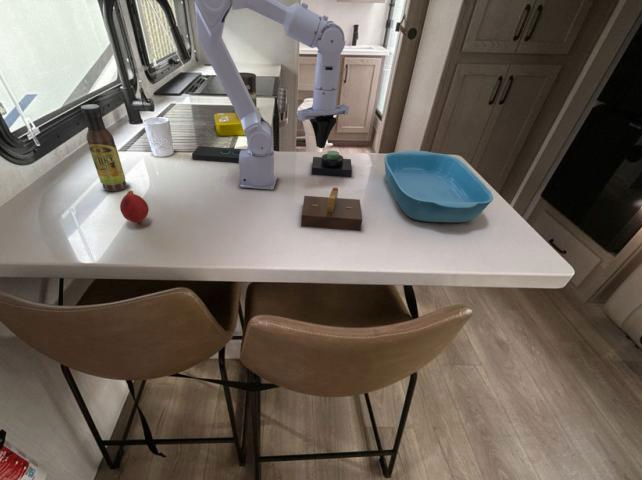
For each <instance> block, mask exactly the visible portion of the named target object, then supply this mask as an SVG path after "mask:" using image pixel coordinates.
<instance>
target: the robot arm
mask: <svg viewBox="0 0 642 480" xmlns="http://www.w3.org/2000/svg"><path fill="white" fill-rule="evenodd" d="M193 2H194V7H195V18H196V19H195V20H196V35H197V36H196V37H197V40H198V43H199V45H200V46H201V49H202V50H203V52H204V54H205V56H206V58H207V60H208V62H209V63H210V66H211V67H212V69H213V70H214V73H215V75H216V77H217V79H218V81H219V82H220V84H221V86H222V88H223V90H224V92H225V94H226V95H227V97H228V99H229V102H230V103H231V105H232V106H233V109H234V112H235V111H236V112H237V114H238V116H239V118H240V120H241V123H242V127H243V130H244V133H245V135H244V136H245V137H246V144H247V150H241V151H240V155H239V163H238V170H239V183H240V185H239V188H243V189H257V190H274V189H275V186H276V184H277V183H276V182H277V179H278V177H277V176H275V148H274V147H273V140H272V137H273V128H272V125H271V124H270V123H269V122H268V121H267V120H265V119H264V117H263V115H262V113H261V112H260V111H259V110H258V108H256V106H255V104H254V102H253V100H252V98H251V96H250V94H249V92H248V90H247V88H246V86H245V84H244V82H243V80H242V78H241V76H240V74H239V73H240V72H239V70H238V68H237V66H236V64H235V62H234V59H233V57H232V55H231V54H230V51H229V50H228V47H227V46H226V43H225V41H224V39H223V33H224V27H225V23H226V18H227V16H228V14H229V13H230V11H231V10H232V11H235V10H241V9H242V10H243V9H248V10H251V11H253V12H255V13H257V14H259V15H261V16H263V17H265V18H268V19H269V20H271V21H274V22H276V23H278V24H280V25H282V27H283V29H284V32H285V35H286V36H287V37H289V38H292V39H293V40H295V41H297V42H299V43H301V44H303V45H305V46H307V47H309V48H310V49H315V48H316V49H317V51H316V63H315V66H314V67H315V68H314V82H313V96H312V105H311V106H310V107H308V108H303V109H300V110H297V114H296V115H297V117H296V119H297V121H300V122H305V121H307V120H309V122H310V124H311V127H312V130H313V133H314V138H315V144H316V147H317V148H319V149H324V148H325V147H326V145H327V141H328V139H329V136H330V133H331V132H332V130H333V128H334V126H335V125H336V124H337V118H336V117H335V116H340V115H344V116H346V115H349V109H350V105H347V104H337V97H338V89H339V80H340V71H341V58H342V52H343V51H344V49H345V47H346V41H345V33H344V30H343V29H342V27H341V26H340V25H338V24H336V22H335V23H334V21H333V20H329V16H327V15H325V14H323V15H320V14H318V13H316V12H315V11H312V10H310V9H309V8H308V7H309V5H308V4H307V3H306V2H301V4H300V3H298V2H295V3H293V4H291V5H289V6H287V5H284V4H283V3H282V2H279V1H278V0H193Z"/></svg>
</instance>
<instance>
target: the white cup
mask: <svg viewBox="0 0 642 480" xmlns="http://www.w3.org/2000/svg"><path fill="white" fill-rule="evenodd" d="M142 124H143V127H144V130H145V134H146V137H147V141H148V144H149V146H150V149H151V153H152V155H153V156H155V157H158V158H159V157H162V158H164V157H169V156H172V155H173V154H174V152H175V151H174V143H173V135H172V129H171V123H170V119H169V118H168V117H164V116H152V117H151V116H150V117H147V118H144V119H143V120H142Z"/></svg>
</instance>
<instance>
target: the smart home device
mask: <svg viewBox="0 0 642 480" xmlns="http://www.w3.org/2000/svg"><path fill="white" fill-rule="evenodd" d="M241 150H247V149H246V148H233V147H220V146H219V147H218V146H205V145H203V146H202V145H199V146H197V148H196V149H195V150H194V151H193V152H192V153H191V157H192V160H196V161H208V162H209V161H210V162H224V163H236V164H239V155H240V151H241Z"/></svg>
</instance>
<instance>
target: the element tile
mask: <svg viewBox="0 0 642 480" xmlns="http://www.w3.org/2000/svg"><path fill="white" fill-rule="evenodd" d="M213 118H214V119H213V120H214V127H215V132H216V135H217V136H218V137H234V136H235V137H238V136H246V135H245V133H244V130H243V127H242V123H241V120H240V118H239V116H238V114H237V113H235V112H216V113H215V114H213Z"/></svg>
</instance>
